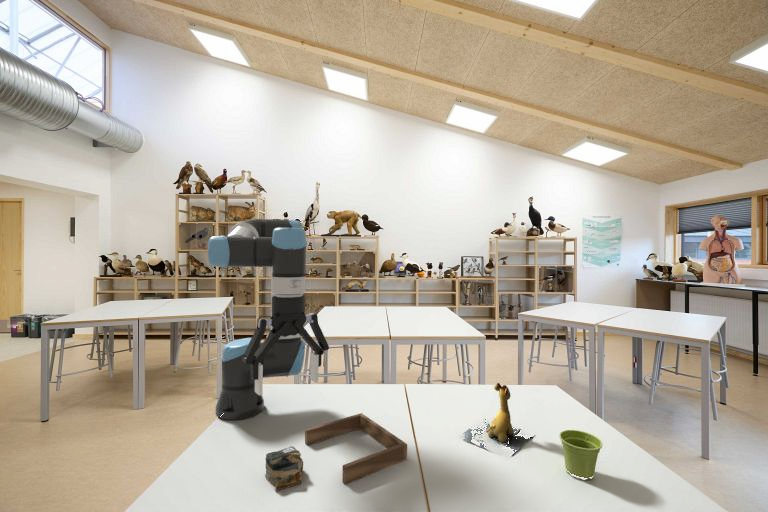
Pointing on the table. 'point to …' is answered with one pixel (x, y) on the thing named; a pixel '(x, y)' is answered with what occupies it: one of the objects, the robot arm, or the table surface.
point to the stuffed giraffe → (501, 424)
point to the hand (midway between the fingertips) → (287, 386)
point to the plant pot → (580, 452)
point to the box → (369, 463)
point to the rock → (284, 468)
